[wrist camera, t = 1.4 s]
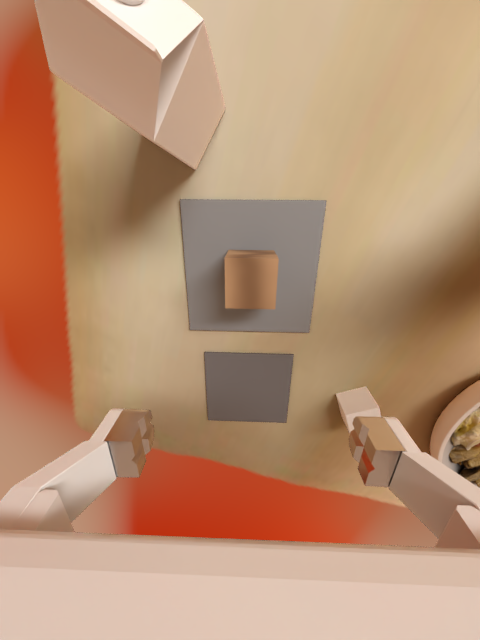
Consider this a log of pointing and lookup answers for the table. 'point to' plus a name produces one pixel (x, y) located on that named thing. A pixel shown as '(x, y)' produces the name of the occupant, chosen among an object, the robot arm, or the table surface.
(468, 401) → the bowl
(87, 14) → the milk carton
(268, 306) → the walnut block
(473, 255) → the table surface
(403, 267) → the table surface
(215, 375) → the mat
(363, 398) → the beige block
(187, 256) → the tile
